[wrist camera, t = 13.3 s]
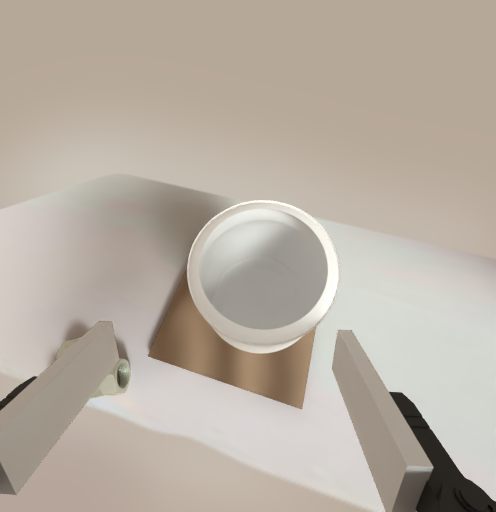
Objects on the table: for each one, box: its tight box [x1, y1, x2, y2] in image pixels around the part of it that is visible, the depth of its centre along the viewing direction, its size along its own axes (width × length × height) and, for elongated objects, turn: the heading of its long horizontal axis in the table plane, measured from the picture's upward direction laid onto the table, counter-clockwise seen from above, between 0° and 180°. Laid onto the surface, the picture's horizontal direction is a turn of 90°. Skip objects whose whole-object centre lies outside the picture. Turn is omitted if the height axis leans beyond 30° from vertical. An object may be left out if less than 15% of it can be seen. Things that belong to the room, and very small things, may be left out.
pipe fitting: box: [56, 338, 130, 398], centre depth 27 cm, size 8×4×7 cm
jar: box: [187, 200, 340, 354], centre depth 23 cm, size 11×10×15 cm
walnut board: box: [148, 269, 316, 409], centre depth 30 cm, size 18×18×2 cm
